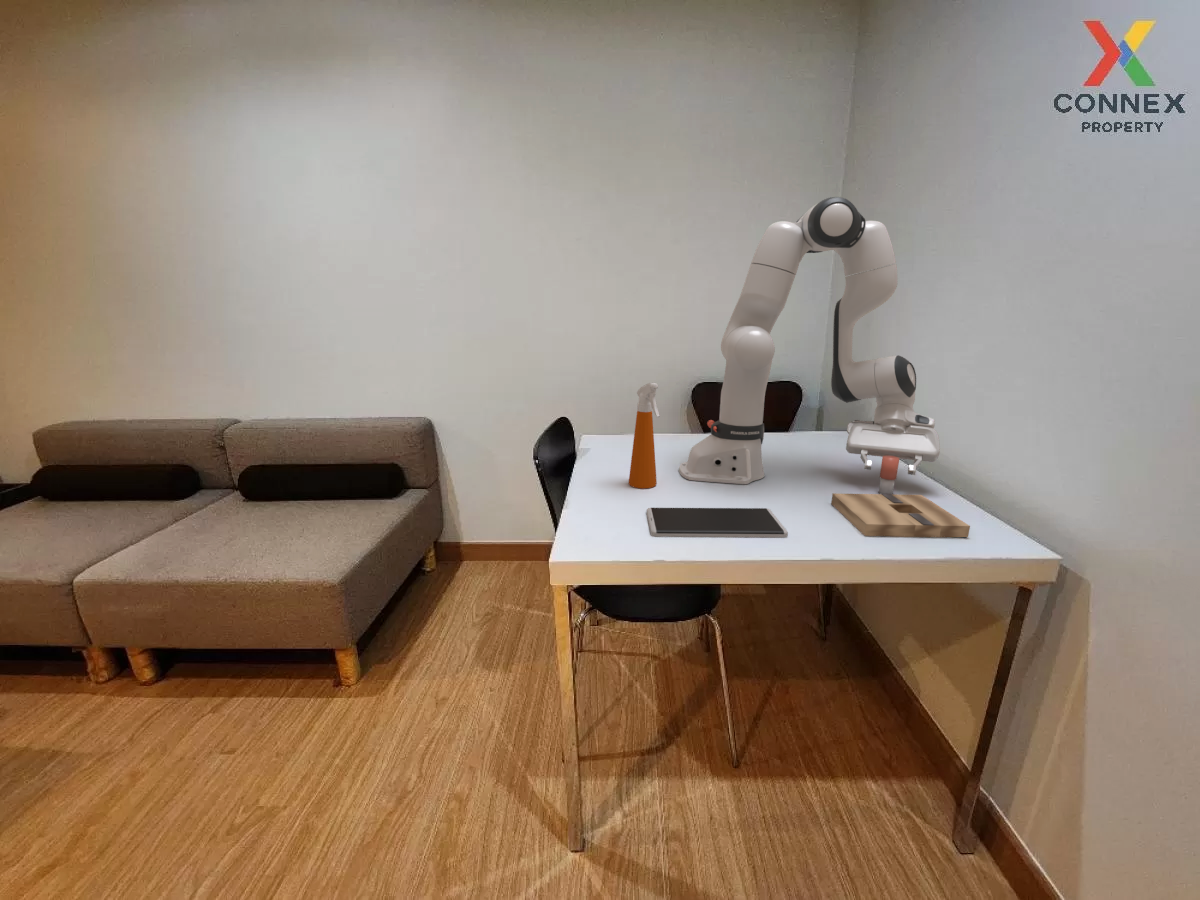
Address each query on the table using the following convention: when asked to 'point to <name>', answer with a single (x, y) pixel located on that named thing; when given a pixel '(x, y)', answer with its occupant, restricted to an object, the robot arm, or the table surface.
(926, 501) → the board
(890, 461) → the red white cylinder
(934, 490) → the table surface
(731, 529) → the smartphone
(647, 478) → the spray bottle
